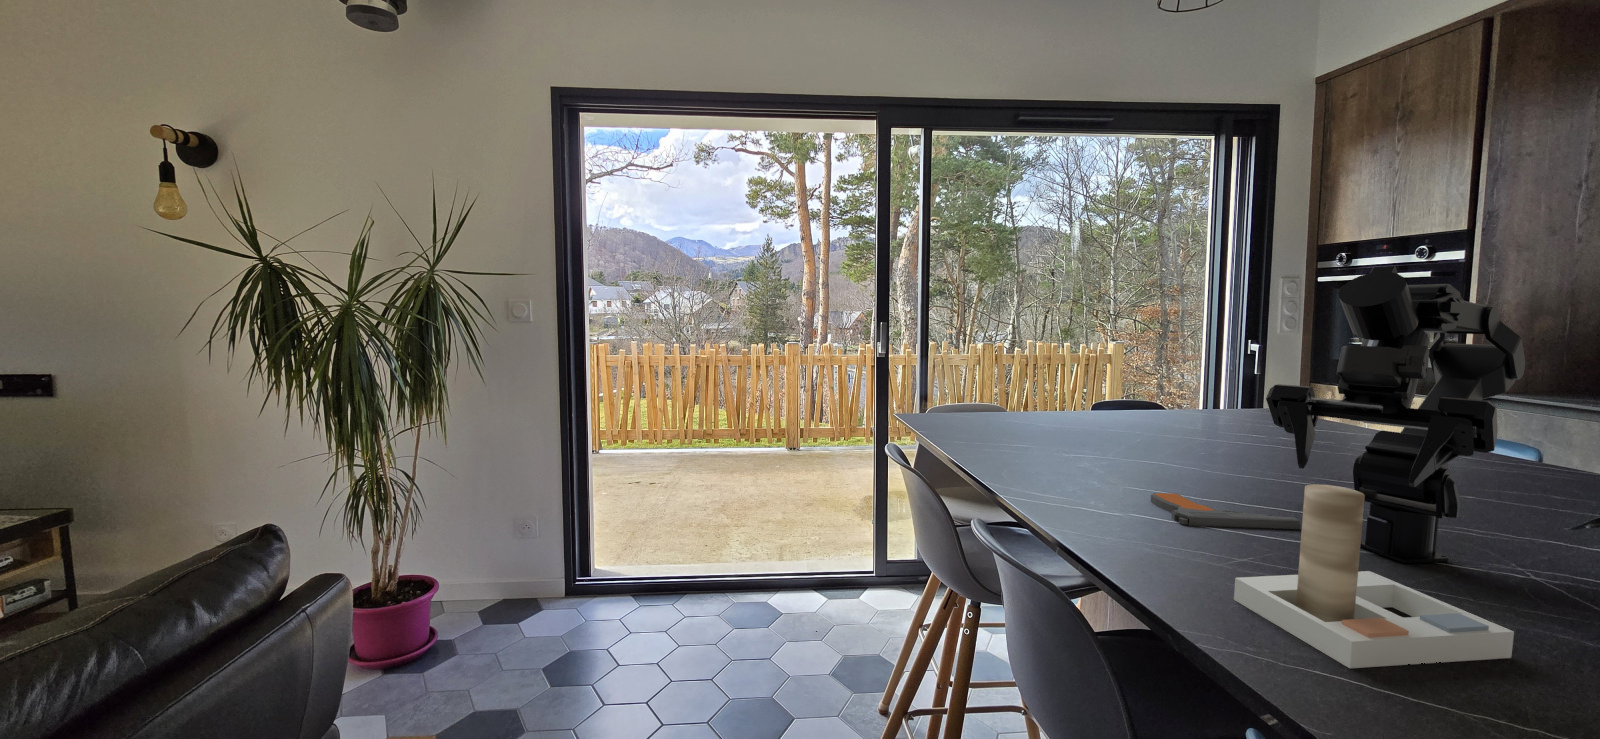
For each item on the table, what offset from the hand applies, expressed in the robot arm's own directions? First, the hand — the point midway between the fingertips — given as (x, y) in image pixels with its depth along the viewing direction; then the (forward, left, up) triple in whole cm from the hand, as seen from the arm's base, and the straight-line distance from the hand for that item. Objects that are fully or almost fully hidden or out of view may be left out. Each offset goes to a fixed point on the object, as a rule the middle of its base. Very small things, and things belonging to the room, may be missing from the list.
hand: (1352, 475), depth 67 cm
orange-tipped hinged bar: (-7, -26, -14) cm, 31 cm away
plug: (+9, +6, -14) cm, 17 cm away
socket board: (+5, +6, -14) cm, 16 cm away
